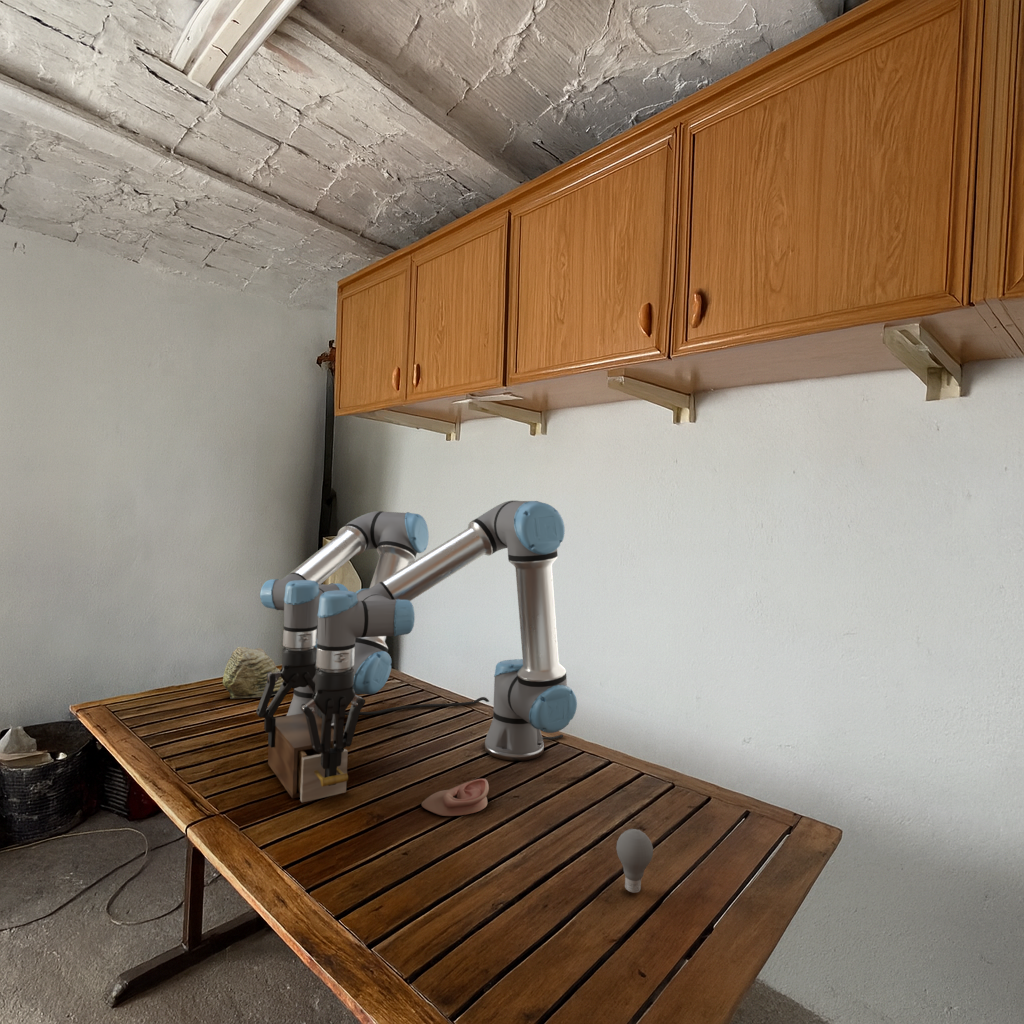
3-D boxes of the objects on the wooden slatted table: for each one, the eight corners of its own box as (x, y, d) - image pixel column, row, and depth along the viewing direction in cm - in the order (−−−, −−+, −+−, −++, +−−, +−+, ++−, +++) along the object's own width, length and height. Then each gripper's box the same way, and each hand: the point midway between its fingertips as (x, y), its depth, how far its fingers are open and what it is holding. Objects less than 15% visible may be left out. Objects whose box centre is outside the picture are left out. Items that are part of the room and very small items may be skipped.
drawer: (357, 804, 129) (358, 761, 129) (311, 816, 124) (313, 771, 124) (317, 760, 150) (319, 722, 150) (276, 768, 144) (278, 729, 144)
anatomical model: (416, 792, 129) (434, 769, 140) (415, 812, 129) (434, 787, 140) (479, 801, 126) (493, 777, 137) (479, 821, 126) (492, 795, 137)
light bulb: (610, 879, 108) (613, 822, 108) (644, 879, 109) (647, 822, 109) (619, 902, 102) (622, 840, 102) (655, 901, 103) (658, 840, 103)
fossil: (218, 695, 195) (220, 647, 195) (278, 685, 208) (279, 640, 207) (228, 703, 189) (230, 653, 188) (289, 692, 201) (290, 645, 201)
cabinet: (341, 787, 138) (343, 738, 138) (292, 798, 132) (294, 748, 132) (312, 755, 155) (314, 711, 154) (267, 763, 149) (269, 718, 148)
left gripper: (251, 655, 138) (247, 756, 139) (353, 645, 152) (349, 737, 152) (243, 648, 144) (240, 744, 145) (341, 639, 158) (338, 727, 158)
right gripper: (308, 676, 122) (303, 797, 122) (372, 668, 129) (367, 782, 130) (297, 666, 128) (292, 782, 128) (359, 659, 135) (354, 769, 136)
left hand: (296, 740), depth 148 cm, fingers closed on cabinet, 11 cm apart
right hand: (330, 782), depth 129 cm, fingers closed
